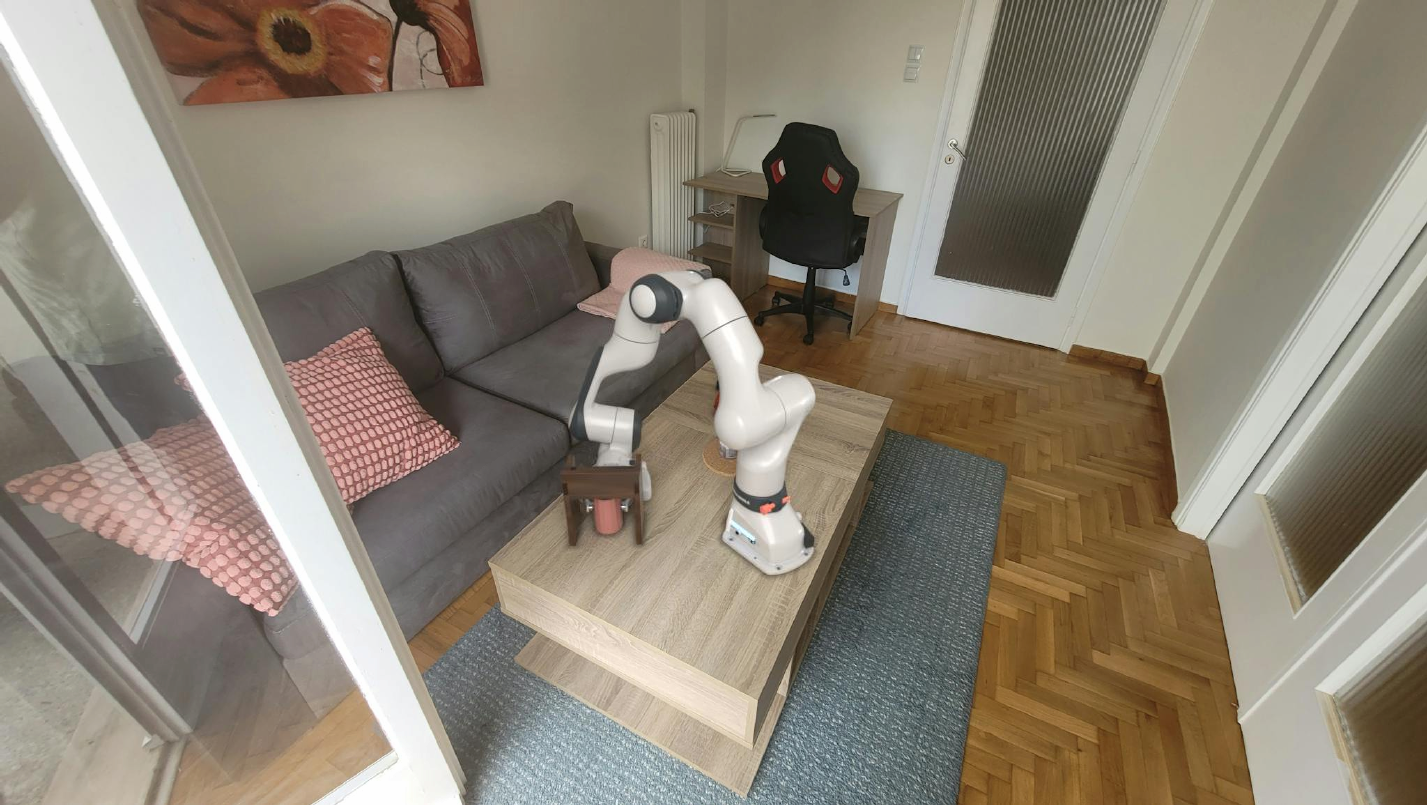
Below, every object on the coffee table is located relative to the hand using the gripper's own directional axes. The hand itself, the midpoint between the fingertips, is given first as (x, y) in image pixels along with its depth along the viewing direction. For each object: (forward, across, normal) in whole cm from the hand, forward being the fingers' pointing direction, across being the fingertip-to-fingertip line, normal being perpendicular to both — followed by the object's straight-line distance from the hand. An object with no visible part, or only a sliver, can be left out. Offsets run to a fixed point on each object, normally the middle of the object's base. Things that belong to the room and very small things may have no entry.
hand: (607, 509), depth 136 cm
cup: (-1, 0, +6) cm, 6 cm away
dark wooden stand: (+1, 0, +6) cm, 6 cm away
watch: (-65, +33, +6) cm, 73 cm away
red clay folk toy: (-50, +32, +6) cm, 59 cm away
